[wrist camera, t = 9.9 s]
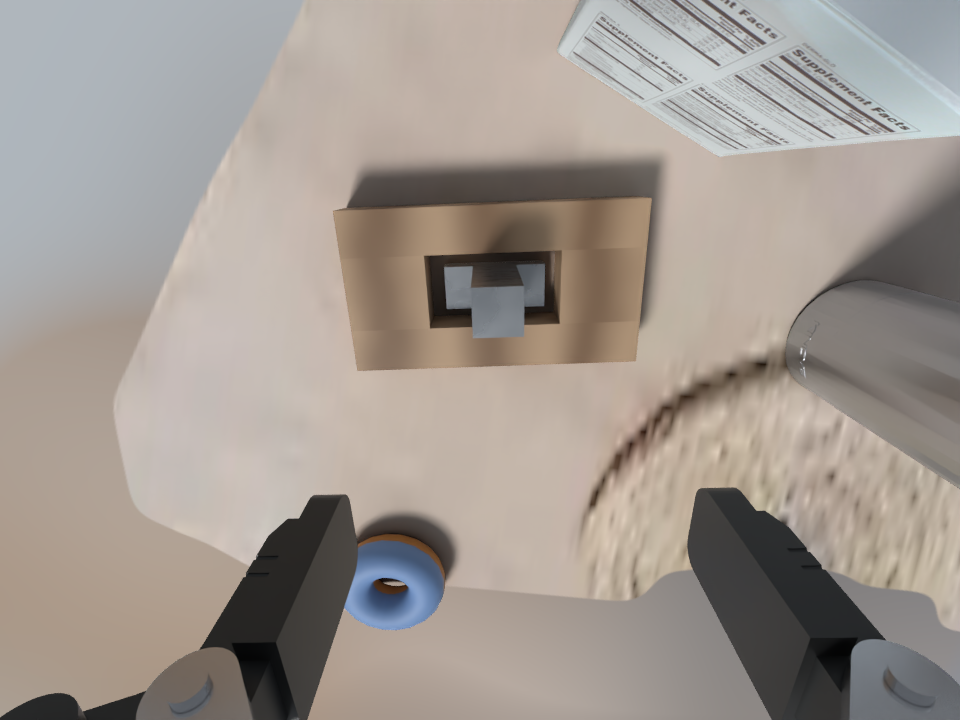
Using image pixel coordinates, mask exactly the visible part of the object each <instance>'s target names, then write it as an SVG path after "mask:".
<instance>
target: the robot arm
mask: <svg viewBox="0 0 960 720" xmlns="http://www.w3.org/2000/svg"><path fill="white" fill-rule="evenodd" d="M785 355H786V363H787V366H788V369H789V371H790V374H791V375H792V376H793V377H794V379H795V380H796V381H797V382H798V383H799V384H801V385H802V386H803V387H805V388H806V389H808V390H809V391H811V392H812V393H814V394H816V395H817V396H819V397H820V398H822V399H823V400H825V401H826V402H828V403H829V404H831V405H832V406H834V407H835V408H836V409H838V410H839V411H841V412H843V413H844V414H846V415H847V416H849V417H850V418H852V419H853V420H855V421H856V422H858V423H859V424H861V425H862V426H864V427H865V428H867V429H869V430H870V431H872V432H873V433H875V434H876V435H878V436H879V437H881V438H882V439H884V440H885V441H887V442H888V443H890V444H891V445H893V446H895V447H896V448H898V449H899V450H901V451H902V452H904V453H905V454H907V455H908V456H910V457H911V458H913V459H914V460H916V461H917V462H919V463H921V464H922V465H924V466H925V467H927V468H928V469H930V470H931V471H933V472H934V473H936V474H937V475H939V476H940V477H942V478H943V479H945V480H947V481H948V482H950V483H951V484H953V485H954V486H956V487H957V488H959V489H960V303H959V302H955V301H951V300H947V299H944V298H940V297H936V296H933V295H929V294H926V293H922V292H918V291H914V290H910V289H907V288H903V287H899V286H895V285H891V284H888V283H884V282H879V281H874V280H859V281H854V282H849V283H845V284H842V285H840V286H838V287H835V288H833V289H830V290H829V291H827V292H826V293H824V294H822V295H821V296H819V297H818V298H817V299H815V300H814V301H813V302H812V303H811V304H810V305H808V306H807V307H806V308H805V310H804V311H803V312H802V313H801V315H800V316H799V317H798V318H797V320H796V322H795V323H794V325H793V327H792V329H791V331H790V334H789V337H788V339H787V343H786V352H785ZM688 555H689V559H690V563H691V566H692V568H693V570H694V572H695V574H696V576H697V578H698V580H699V582H700V584H701V586H702V588H703V590H704V592H705V593H706V595H707V597H708V599H709V601H710V603H711V605H712V607H713V609H714V611H715V612H716V614H717V616H718V618H719V620H720V622H721V624H722V626H723V628H724V630H725V632H726V633H727V635H728V637H729V639H730V641H731V643H732V645H733V647H734V649H735V650H736V652H737V654H738V656H739V658H740V660H741V662H742V664H743V666H744V668H745V670H746V671H747V673H748V675H749V677H750V679H751V681H752V683H753V685H754V687H755V689H756V691H757V692H758V694H759V696H760V698H761V700H762V702H763V704H764V706H765V708H766V710H767V711H768V713H769V715H770V717H771V719H772V720H960V685H959V684H958V683H957V682H956V681H955V680H954V679H953V678H952V677H951V676H950V675H949V674H948V673H947V672H945V671H944V670H943V669H942V668H940V667H939V666H938V665H936V664H935V663H933V662H932V661H931V660H929V659H928V658H926V657H924V656H923V655H921V654H919V653H918V652H916V651H913V650H911V649H909V648H907V647H905V646H902V645H900V644H897V643H893V642H890V641H886V640H885V638H883V636H882V635H881V634H880V633H879V632H878V630H877V629H876V628H875V627H874V626H873V625H872V624H871V622H870V621H869V620H868V619H867V618H866V616H865V615H864V614H863V613H862V612H861V611H860V610H859V608H858V607H857V606H856V605H855V604H854V603H853V601H852V600H851V599H850V598H849V597H848V596H847V594H846V593H845V592H844V591H843V590H842V589H841V587H839V585H838V584H837V583H836V582H835V581H834V579H833V578H832V577H831V576H830V575H829V574H828V572H827V571H826V570H823V569H822V567H821V564H820V563H819V562H818V561H817V560H816V558H815V557H814V556H813V555H812V554H811V553H810V552H807V548H806V547H805V546H804V544H803V543H802V542H801V541H800V540H799V539H798V537H797V536H796V535H795V534H794V533H793V532H792V530H791V529H790V528H789V527H787V526H786V525H784V524H783V523H782V522H780V521H779V520H777V519H776V518H774V517H773V516H772V515H770V514H769V513H767V512H766V511H756V510H755V509H754V507H753V506H752V505H751V504H750V502H749V501H748V500H747V499H746V497H745V496H744V495H743V494H742V492H741V491H740V490H738V489H737V488H701V489H699V490H698V491H697V493H696V497H695V502H694V508H693V513H692V519H691V524H690V530H689V535H688ZM357 560H358V545H357V539H356V534H355V528H354V523H353V517H352V511H351V506H350V501H349V498H348V496H347V495H313V496H312V497H311V498H310V500H309V501H308V503H307V505H306V507H305V509H304V510H303V512H302V514H301V516H300V518H299V519H287V520H286V521H285V522H284V523H283V524H281V525H280V526H279V527H278V528H277V529H276V530H275V531H274V532H272V533H271V534H270V535H269V536H268V538H267V539H266V541H265V543H264V544H263V546H262V548H261V549H260V551H259V553H258V554H257V556H256V560H254V561H253V562H252V564H251V566H250V567H249V569H248V571H247V572H246V577H244V578H243V579H242V581H241V582H240V584H239V586H238V587H237V589H236V591H235V592H234V594H233V596H232V597H231V599H230V601H229V602H228V604H227V606H226V607H225V609H224V611H223V612H222V614H221V616H220V617H219V619H218V620H217V622H216V624H215V625H214V627H213V629H212V631H211V632H210V634H209V635H208V637H207V639H206V641H205V642H204V644H203V645H202V647H201V648H200V650H198V651H195V652H192V653H190V654H188V655H186V656H184V657H183V658H181V659H179V660H177V661H176V662H174V663H173V664H172V665H170V666H169V667H168V668H167V669H165V670H164V671H163V672H162V673H161V674H160V675H159V676H158V677H157V678H156V679H155V680H154V681H153V683H152V684H151V685H150V686H149V688H148V689H147V691H145V692H142V693H139V694H137V695H134V696H130V697H127V698H124V699H121V700H118V701H115V702H111V703H108V704H105V705H102V706H99V707H96V708H93V709H90V710H86V711H82V710H81V708H80V706H79V705H78V703H77V701H76V700H75V699H74V698H73V697H72V696H70V695H67V694H63V693H54V694H48V695H45V696H41V697H37V698H35V699H32V700H30V701H28V702H26V703H24V704H22V705H20V706H18V707H16V708H14V709H13V710H11V711H9V712H8V713H6V714H5V715H3V716H2V717H0V720H307V719H308V716H309V712H310V709H311V706H312V703H313V700H314V697H315V694H316V691H317V688H318V685H319V682H320V679H321V676H322V673H323V670H324V667H325V664H326V661H327V658H328V655H329V652H330V649H331V646H332V643H333V639H334V637H335V633H336V630H337V627H338V624H339V621H340V618H341V615H342V612H343V609H344V606H345V603H346V600H347V597H348V594H349V591H350V588H351V585H352V582H353V579H354V576H355V572H356V567H357Z"/></svg>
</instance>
